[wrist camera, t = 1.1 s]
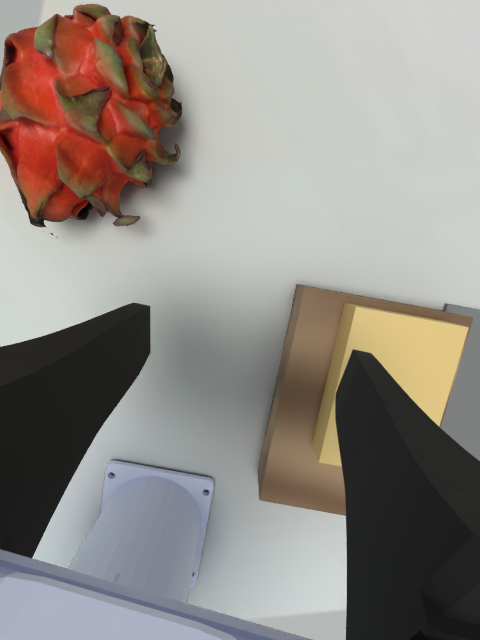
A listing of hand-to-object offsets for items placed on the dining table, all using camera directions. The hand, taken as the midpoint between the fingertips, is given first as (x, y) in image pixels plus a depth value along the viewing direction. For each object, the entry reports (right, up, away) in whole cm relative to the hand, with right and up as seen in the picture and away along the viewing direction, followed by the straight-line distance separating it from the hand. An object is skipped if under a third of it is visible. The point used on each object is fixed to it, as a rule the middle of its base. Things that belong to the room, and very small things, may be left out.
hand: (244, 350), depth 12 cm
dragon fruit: (-8, +12, +10) cm, 17 cm away
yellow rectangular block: (+8, -3, +8) cm, 12 cm away
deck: (+7, -4, +11) cm, 14 cm away
